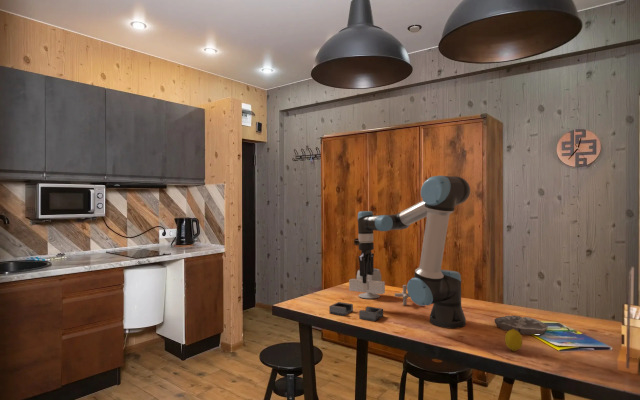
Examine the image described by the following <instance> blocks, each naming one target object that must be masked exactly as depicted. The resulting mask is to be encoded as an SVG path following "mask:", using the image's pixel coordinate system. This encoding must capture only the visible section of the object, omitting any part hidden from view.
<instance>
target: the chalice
mask: <svg viewBox="0 0 640 400" xmlns="http://www.w3.org/2000/svg"><path fill="white" fill-rule="evenodd" d="M367 275H368V274H367ZM356 279H362V276H360V268H358V270H357V272H356ZM372 280H373V281H382V273H381V270H380V269H378V268H375V267H374V272H373V275H372ZM380 295H381V294H376V293H367V292H361V293H360V294H358V297H359V298H362V299H367V300H368V299H371V300H373V299H378V298H380V297H381V296H380Z"/></svg>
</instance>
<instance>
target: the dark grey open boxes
mask: <svg viewBox="0 0 640 400" xmlns="http://www.w3.org/2000/svg"><path fill="white" fill-rule="evenodd" d="M353 311H354V304H353V303H348V302H341V301H338V302H335V303H333V304H331V305H329V314H331V315H334V316H341V317H342V316H343V317H345V316H347V315H349V314H350V313H352V312H353ZM358 315H359V316H358V317H359V318H358V319H360V320H366V321H370V322H377V321H379V320H380V319H382V318H383V317H384V308H382V307H376V306H374V307H373V306H366V307H365V310H364V309H363V310H361V309H360V310H359V311H358Z"/></svg>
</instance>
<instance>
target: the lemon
mask: <svg viewBox="0 0 640 400" xmlns="http://www.w3.org/2000/svg"><path fill="white" fill-rule="evenodd" d="M522 337H523V336H522V334H520V333H519V332H518V331H516V330H515V329H512V330H509V331H506V332H505V336H504V341H505V345H506V346H507V348H508V349H509V350H511V351H512V352H515V351H518V350H520V349H521V348H522V346H523V338H522Z"/></svg>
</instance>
